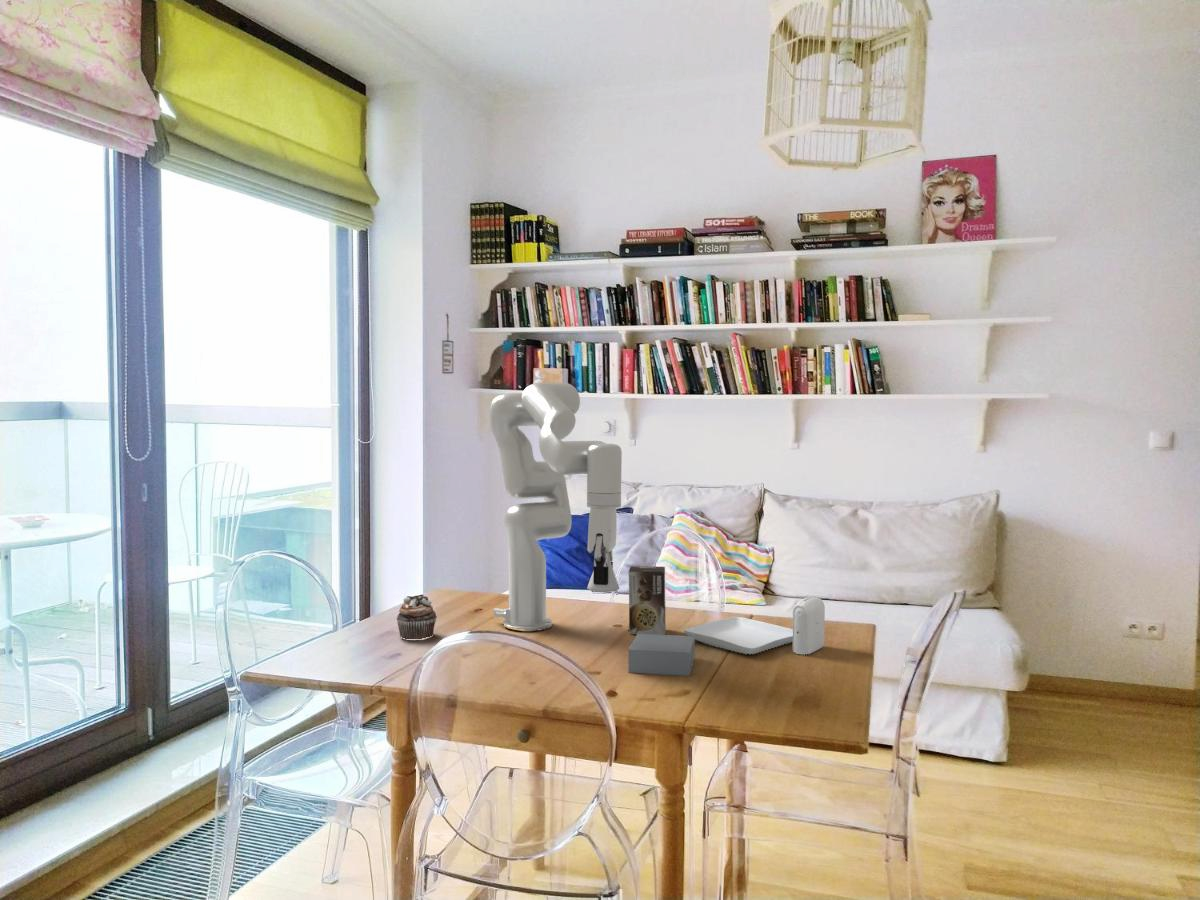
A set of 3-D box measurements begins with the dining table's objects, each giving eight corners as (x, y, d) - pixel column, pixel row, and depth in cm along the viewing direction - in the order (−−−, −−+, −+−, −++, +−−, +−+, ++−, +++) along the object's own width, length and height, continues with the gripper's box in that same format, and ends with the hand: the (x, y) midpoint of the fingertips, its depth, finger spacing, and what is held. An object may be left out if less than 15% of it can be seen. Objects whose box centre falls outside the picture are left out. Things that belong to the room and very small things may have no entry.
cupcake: (389, 636, 218) (389, 595, 218) (424, 629, 224) (424, 590, 224) (408, 644, 211) (408, 602, 210) (444, 637, 217) (443, 596, 217)
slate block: (628, 672, 189) (628, 649, 189) (637, 655, 202) (637, 633, 202) (689, 676, 187) (689, 652, 186) (694, 658, 200) (694, 636, 199)
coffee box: (665, 629, 225) (666, 566, 224) (665, 635, 218) (665, 571, 218) (629, 628, 226) (630, 565, 225) (628, 634, 219) (628, 570, 218)
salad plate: (806, 644, 212) (806, 630, 212) (752, 662, 198) (752, 647, 198) (736, 627, 228) (736, 614, 228) (680, 643, 213) (681, 629, 213)
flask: (585, 586, 200) (586, 542, 199) (617, 585, 200) (618, 542, 199) (588, 593, 192) (588, 548, 192) (621, 593, 193) (621, 548, 192)
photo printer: (807, 657, 201) (807, 603, 200) (789, 653, 203) (790, 600, 203) (826, 647, 209) (827, 595, 208) (809, 644, 211) (810, 592, 211)
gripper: (594, 494, 204) (593, 573, 205) (579, 504, 187) (578, 589, 188) (626, 495, 202) (626, 574, 204) (614, 505, 186) (613, 591, 187)
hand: (603, 580), depth 196 cm, fingers closed on flask, 4 cm apart
